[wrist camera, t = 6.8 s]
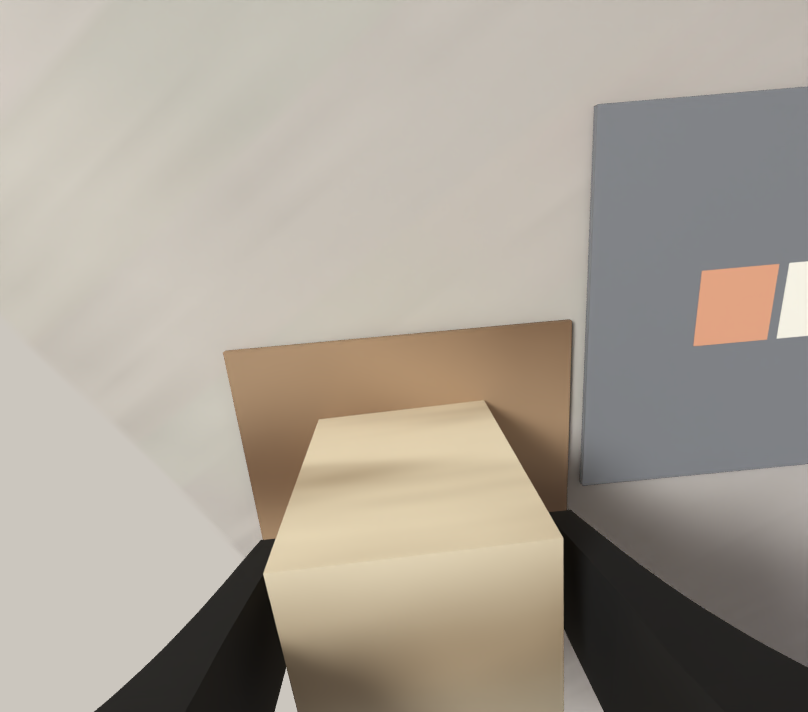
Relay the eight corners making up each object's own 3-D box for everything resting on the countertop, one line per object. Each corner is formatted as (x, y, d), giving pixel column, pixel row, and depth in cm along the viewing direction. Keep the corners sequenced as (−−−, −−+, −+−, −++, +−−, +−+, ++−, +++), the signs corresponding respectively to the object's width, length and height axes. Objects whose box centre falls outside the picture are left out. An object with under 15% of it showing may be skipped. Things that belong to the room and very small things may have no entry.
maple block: (492, 538, 14) (563, 746, 8) (343, 555, 14) (313, 777, 8) (484, 400, 13) (563, 538, 7) (318, 419, 13) (263, 573, 7)
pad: (561, 592, 15) (563, 597, 15) (282, 620, 15) (281, 625, 15) (568, 319, 12) (571, 320, 12) (225, 350, 12) (223, 352, 12)
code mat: (907, 450, 14) (915, 453, 14) (580, 482, 14) (582, 485, 14) (1015, 70, 11) (1027, 67, 11) (594, 106, 11) (598, 104, 11)
